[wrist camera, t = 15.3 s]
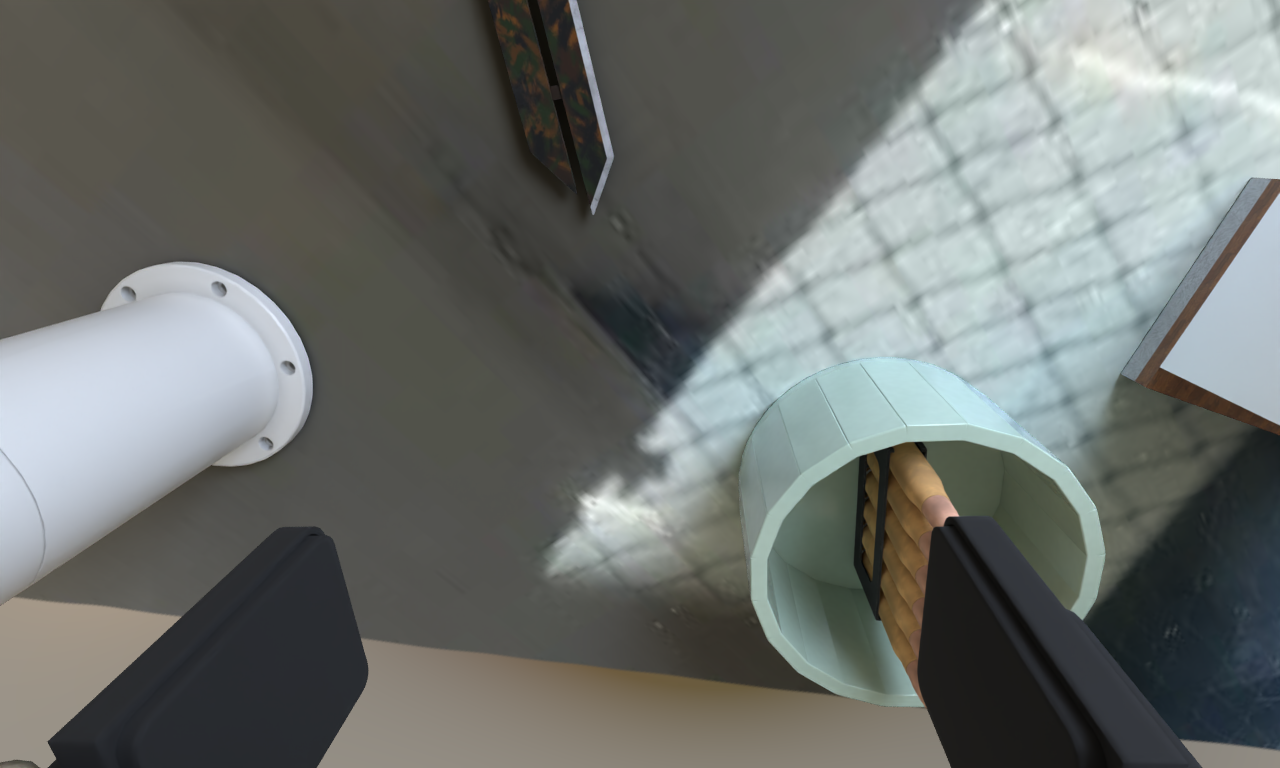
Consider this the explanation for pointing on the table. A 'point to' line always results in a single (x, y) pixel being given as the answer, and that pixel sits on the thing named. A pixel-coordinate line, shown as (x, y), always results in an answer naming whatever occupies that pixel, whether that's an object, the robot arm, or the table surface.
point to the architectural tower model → (1225, 319)
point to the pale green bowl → (827, 502)
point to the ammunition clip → (898, 541)
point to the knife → (556, 89)
